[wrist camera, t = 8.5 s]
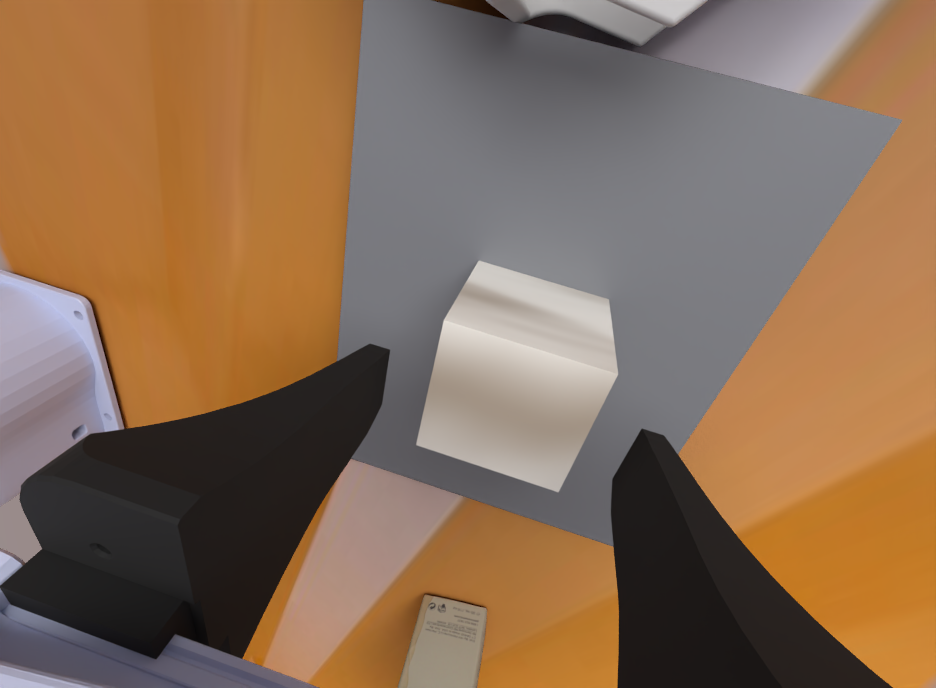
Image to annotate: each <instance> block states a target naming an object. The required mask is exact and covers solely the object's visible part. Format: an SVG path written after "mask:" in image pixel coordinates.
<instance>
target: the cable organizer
mask: <svg viewBox="0 0 936 688" xmlns="http://www.w3.org/2000/svg"><path fill="white" fill-rule="evenodd" d="M486 1H487V2H488V3H489V4H490V5H492V6H493V7H494V8H496V9H497V10H498V11H499V12H501V13H502V14H503V15H505V16H506V17H507V18H509V19H510V20H511V21H512V22H519V23H523V22H525V21H528V20H530V19H533V18H536V17H539V16H544V15H564V16H568V17H571V18H574V19H576V20H578V21H580V22H583V23H585V24H587V25H590V26H592V27H594V28H597V29H599V30H601V31H604V32H606V33H608V34H610V35H613V36H615V37H617V38H620V39H622V40H624V41H627V42H629V43H631V44H633V45H636V46H638V47H641V46H643V45H644V44H645V43H647V42H648V41H649V40H650V39H652V38H653V37H654V36H656V35H657V34H658V33H660V32H661V31H662V30H663V29H665V28H666V27H674V26H676V25H677V24H678V23H680V22H681V21H682V20H683V19H685V18H686V17H687V16H689V15H690V14H691V13H693V12H694V11H695V10H697V9H698V8H699V7H701V6H702V5H703V4H705V3H706V2H707V1H708V0H486Z"/></svg>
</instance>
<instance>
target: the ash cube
mask: <svg viewBox="0 0 936 688" xmlns="http://www.w3.org/2000/svg"><path fill="white" fill-rule="evenodd" d="M617 376H618V368H617V360H616V352H615V344H614V336H613V328H612V320H611V312H610V304H609V299H606V298H603V297H599V296H596V295H593V294H589V293H586V292H583V291H579V290H576V289H573V288H569V287H566V286H563V285H559V284H556V283H552V282H549V281H546V280H542V279H539V278H536V277H532V276H529V275H526V274H522V273H519V272H516V271H512V270H509V269H506V268H502V267H499V266H496V265H492V264H489V263H486V262H482V261H478V263H477V264H476V266H475V268H474V269H473V271H472V273H471V275H470V276H469V278H468V280H467V281H466V283H465V285H464V286H463V288H462V290H461V292H460V293H459V295H458V297H457V298H456V300H455V302H454V304H453V305H452V307H451V309H450V310H449V312H448V314H447V316H446V317H445V319H444V322H443V326H442V331H441V335H440V340H439V344H438V349H437V353H436V358H435V362H434V367H433V371H432V375H431V380H430V384H429V389H428V393H427V398H426V402H425V407H424V411H423V416H422V420H421V425H420V429H419V434H418V438H417V443H416V445H418V446H421V447H424V448H427V449H430V450H433V451H436V452H439V453H442V454H445V455H448V456H451V457H454V458H457V459H460V460H463V461H466V462H469V463H472V464H475V465H478V466H481V467H484V468H487V469H490V470H493V471H496V472H499V473H502V474H505V475H508V476H511V477H514V478H517V479H520V480H523V481H526V482H529V483H532V484H535V485H538V486H541V487H544V488H547V489H550V490H553V491H556V492H559V490H560V488H561V486H562V484H563V482H564V480H565V479H566V477H567V475H568V473H569V471H570V469H571V467H572V465H573V463H574V461H575V459H576V457H577V455H578V453H579V451H580V449H581V447H582V445H583V443H584V441H585V439H586V437H587V435H588V433H589V431H590V429H591V427H592V425H593V423H594V421H595V419H596V417H597V415H598V413H599V411H600V409H601V407H602V405H603V403H604V401H605V399H606V397H607V395H608V393H609V391H610V390H611V388H612V386H613V384H614V382H615V380H616V378H617Z"/></svg>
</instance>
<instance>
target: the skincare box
mask: <svg viewBox="0 0 936 688" xmlns="http://www.w3.org/2000/svg"><path fill="white" fill-rule="evenodd" d="M486 619H487V609H486V608H483V607H478V606H474V605H470V604H467V603H463V602H459V601H454V600H450V599H446V598H441V597H435V596H430V595H424V597H423V600H422V604H421V607H420V610H419V614H418V618H417V622H416V625H415V628H414V632H413V635H412V639H411V642H410V646H409V649H408V653H407V656H406V660H405V663H404V667H403V671H402V674H401V678H400V681H399V685H398V688H477V684H478V677H479V671H480V665H481V659H482V652H483V646H484V639H485V630H486Z"/></svg>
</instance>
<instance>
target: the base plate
mask: <svg viewBox="0 0 936 688" xmlns="http://www.w3.org/2000/svg"><path fill="white" fill-rule="evenodd" d="M901 122H902V120H900V119H896V118H893V117H889V116H885V115H881V114H877V113H873V112H869V111H865V110H861V109H857V108H853V107H849V106H845V105H841V104H837V103H833V102H830V101H826V100H822V99H818V98H814V97H810V96H806V95H802V94H798V93H794V92H790V91H786V90H782V89H778V88H774V87H771V86H767V85H763V84H759V83H755V82H751V81H747V80H743V79H739V78H735V77H731V76H727V75H723V74H719V73H715V72H711V71H708V70H704V69H700V68H696V67H692V66H688V65H684V64H680V63H676V62H672V61H668V60H664V59H660V58H656V57H652V56H649V55H645V54H641V53H637V52H633V51H629V50H625V49H621V48H617V47H613V46H609V45H605V44H601V43H597V42H593V41H589V40H586V39H582V38H578V37H574V36H570V35H566V34H562V33H558V32H554V31H550V30H546V29H542V28H538V27H534V26H530V25H526V24H523V23H519V22H512V21H511V20H507V19H503V18H499V17H495V16H491V15H487V14H483V13H479V12H475V11H471V10H467V9H464V8H460V7H456V6H452V5H448V4H444V3H440V2H436V1H432V0H364V3H363V17H362V30H361V44H360V57H359V71H358V84H357V98H356V112H355V125H354V139H353V152H352V166H351V179H350V193H349V206H348V220H347V234H346V247H345V261H344V274H343V288H342V301H341V315H340V328H339V342H338V356H337V361H339V360H340V359H342V358H344V357H346V356H348V355H350V354H351V353H353V352H355V351H357V350H359V349H360V348H362V347H364V346H366V345H368V344H374V345H377V346H380V347H383V348H386V349H390V355H389V362H388V369H387V375H386V382H385V388H384V395H383V402H382V406H381V408H380V410H379V412H378V414H377V416H376V418H375V420H374V422H373V424H372V426H371V428H370V430H369V432H368V434H367V435H366V437H365V438H364V440H363V441H362V443H361V444H360V446H359V447H358V449H357V450H356V452H355V453H354V455H353V456H352V458H351V459H354V460H357V461H360V462H363V463H366V464H369V465H372V466H375V467H378V468H381V469H384V470H387V471H390V472H393V473H396V474H399V475H402V476H405V477H408V478H411V479H414V480H417V481H420V482H423V483H426V484H429V485H432V486H435V487H437V488H440V489H443V490H446V491H449V492H452V493H455V494H458V495H461V496H464V497H467V498H470V499H473V500H476V501H479V502H482V503H485V504H488V505H491V506H494V507H497V508H500V509H503V510H506V511H509V512H512V513H515V514H518V515H521V516H524V517H527V518H530V519H533V520H536V521H539V522H542V523H545V524H548V525H551V526H554V527H557V528H560V529H563V530H566V531H569V532H572V533H575V534H578V535H580V536H583V537H586V538H589V539H592V540H595V541H598V542H601V543H604V544H607V545H610V546H613V535H612V523H611V493H612V479H613V477H614V475H615V473H616V472H617V470H618V468H619V467H620V465H621V463H622V461H623V460H624V458H625V456H626V455H627V453H628V451H629V449H630V448H631V446H632V444H633V443H634V441H635V439H636V437H637V436H638V434H639V432H640V431H641V429H645V430H649V431H652V432H655V433H658V434H661V435H664V436H665V437H666V439H667V440H668V441H669V443H670V444H671V445H672V447H673V448H674V450H675V451H676V453H677V454H678V453H679V452H680V450H681V449H682V447H683V446H684V444H685V443H686V441H687V440H688V438H689V437H690V435H691V434H692V432H693V431H694V429H695V428H696V427H697V425H698V424H699V422H700V421H701V419H702V418H703V416H704V415H705V413H706V412H707V410H708V409H709V407H710V406H711V404H712V403H713V401H714V400H715V398H716V397H717V395H718V394H719V392H720V391H721V389H722V388H723V386H724V385H725V383H726V382H727V380H728V379H729V377H730V376H731V374H732V373H733V371H734V370H735V369H736V367H737V366H738V364H739V363H740V361H741V360H742V358H743V357H744V355H745V354H746V352H747V351H748V349H749V348H750V346H751V345H752V343H753V342H754V340H755V339H756V337H757V336H758V334H759V333H760V331H761V330H762V328H763V327H764V325H765V324H766V322H767V321H768V319H769V318H770V316H771V315H772V314H773V312H774V311H775V309H776V308H777V306H778V305H779V303H780V302H781V300H782V299H783V297H784V296H785V294H786V293H787V291H788V290H789V288H790V287H791V285H792V284H793V282H794V281H795V279H796V278H797V276H798V275H799V273H800V272H801V270H802V269H803V267H804V266H805V264H806V263H807V261H808V260H809V258H810V257H811V256H812V254H813V253H814V251H815V250H816V248H817V247H818V245H819V244H820V242H821V241H822V239H823V238H824V236H825V235H826V233H827V232H828V230H829V229H830V227H831V226H832V224H833V223H834V221H835V220H836V218H837V217H838V215H839V214H840V212H841V211H842V209H843V208H844V206H845V205H846V203H847V202H848V201H849V199H850V198H851V196H852V195H853V193H854V192H855V190H856V189H857V187H858V186H859V184H860V183H861V181H862V180H863V178H864V177H865V175H866V174H867V172H868V171H869V169H870V168H871V166H872V165H873V163H874V162H875V160H876V159H877V157H878V156H879V154H880V153H881V151H882V150H883V148H884V147H885V145H886V144H887V143H888V141H889V140H890V138H891V137H892V135H893V134H894V132H895V131H896V129H897V128H898V126H899V125H900V123H901ZM478 261H482V262H486V263H489V264H492V265H496V266H499V267H502V268H506V269H509V270H512V271H516V272H519V273H522V274H526V275H529V276H532V277H536V278H539V279H542V280H546V281H549V282H552V283H556V284H559V285H563V286H566V287H569V288H573V289H576V290H579V291H583V292H586V293H589V294H593V295H596V296H599V297H603V298H606V299H609V304H610V312H611V320H612V328H613V336H614V344H615V352H616V360H617V368H618V376H617V378H616V380H615V382H614V384H613V386H612V388H611V390H610V391H609V393H608V395H607V397H606V399H605V401H604V403H603V405H602V407H601V409H600V411H599V413H598V415H597V417H596V419H595V421H594V423H593V425H592V427H591V429H590V431H589V433H588V435H587V437H586V439H585V441H584V443H583V445H582V447H581V449H580V451H579V453H578V455H577V457H576V459H575V461H574V463H573V465H572V467H571V469H570V471H569V473H568V475H567V477H566V479H565V480H564V482H563V484H562V486H561V488H560V490H559V492H556V491H553V490H550V489H547V488H544V487H541V486H538V485H535V484H532V483H529V482H526V481H523V480H520V479H517V478H514V477H511V476H508V475H505V474H502V473H499V472H496V471H493V470H490V469H487V468H484V467H481V466H478V465H475V464H472V463H469V462H466V461H463V460H460V459H457V458H454V457H451V456H448V455H445V454H442V453H439V452H436V451H433V450H430V449H427V448H424V447H421V446H418V445H416V443H417V438H418V434H419V429H420V425H421V420H422V416H423V411H424V407H425V402H426V398H427V393H428V389H429V384H430V380H431V375H432V371H433V367H434V362H435V358H436V353H437V349H438V344H439V340H440V335H441V331H442V326H443V322H444V319H445V317H446V316H447V314H448V312H449V310H450V309H451V307H452V305H453V304H454V302H455V300H456V298H457V297H458V295H459V293H460V292H461V290H462V288H463V286H464V285H465V283H466V281H467V280H468V278H469V276H470V275H471V273H472V271H473V269H474V268H475V266H476V264H477V263H478ZM613 547H614V546H613Z"/></svg>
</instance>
